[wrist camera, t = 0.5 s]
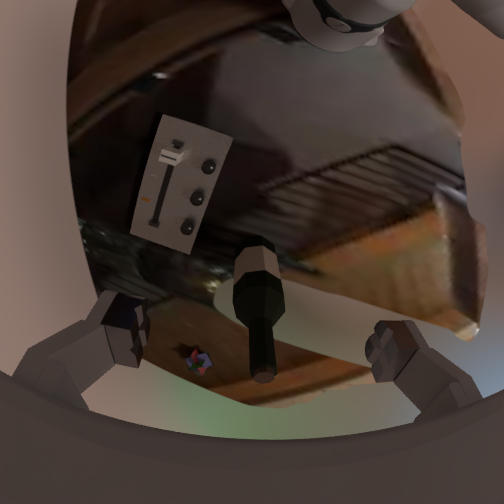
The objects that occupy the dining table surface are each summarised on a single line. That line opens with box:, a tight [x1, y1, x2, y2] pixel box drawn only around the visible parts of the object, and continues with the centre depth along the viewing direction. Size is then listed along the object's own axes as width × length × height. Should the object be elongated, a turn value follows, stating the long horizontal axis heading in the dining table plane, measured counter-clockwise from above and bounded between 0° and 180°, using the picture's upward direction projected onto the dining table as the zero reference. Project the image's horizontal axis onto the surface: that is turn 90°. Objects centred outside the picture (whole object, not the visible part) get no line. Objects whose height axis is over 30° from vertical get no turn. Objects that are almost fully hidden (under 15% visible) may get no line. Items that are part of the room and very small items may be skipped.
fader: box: [158, 146, 184, 166], centre depth 42 cm, size 2×3×4 cm, turn 68°
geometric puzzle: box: [185, 348, 213, 376], centre depth 68 cm, size 7×7×8 cm
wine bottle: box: [233, 236, 285, 384], centre depth 43 cm, size 8×8×30 cm
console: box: [130, 114, 234, 255], centre depth 47 cm, size 24×13×4 cm, turn 158°
